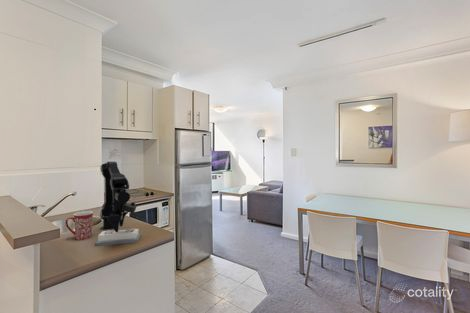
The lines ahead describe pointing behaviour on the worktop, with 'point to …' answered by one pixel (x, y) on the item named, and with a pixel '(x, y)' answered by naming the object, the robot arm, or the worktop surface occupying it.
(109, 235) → the power strip
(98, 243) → the peg board
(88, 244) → the worktop surface
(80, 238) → the mug
